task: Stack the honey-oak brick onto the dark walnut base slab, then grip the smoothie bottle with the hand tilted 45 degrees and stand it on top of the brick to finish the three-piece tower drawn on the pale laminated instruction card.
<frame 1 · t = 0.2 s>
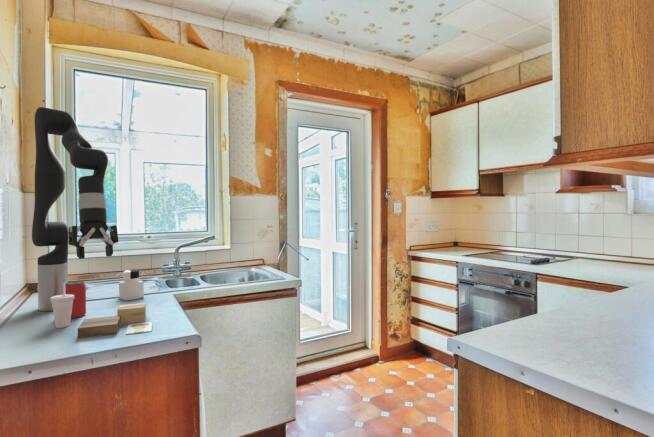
hand: (95, 257, 118), 22 cm above the worktop, tool pointing down, fingers open, 8 cm apart
instruction card: (139, 328, 116), on the worktop
medicine bottle: (131, 298, 157), on the worktop
base slab: (100, 331, 113), on the worktop
oak brick: (132, 320, 125), on the worktop
beer can: (75, 316, 130), on the worktop
smoothie: (62, 326, 118), on the worktop
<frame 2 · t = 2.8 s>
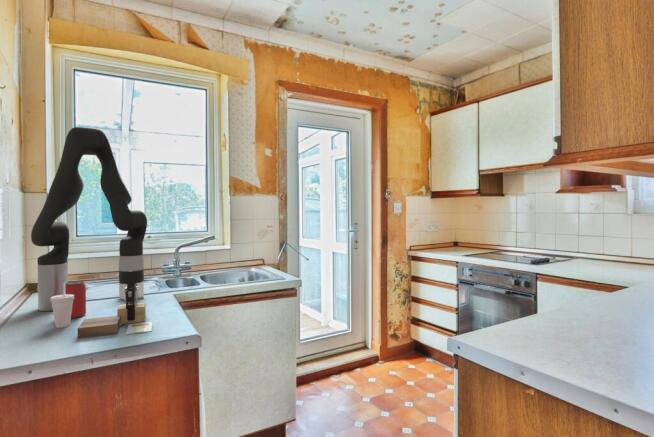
hand: (132, 317, 124), 1 cm above the worktop, tool pointing down, fingers closed on oak brick, 6 cm apart
oak brick: (132, 320, 125), on the worktop, touching gripper
everything else where it was.
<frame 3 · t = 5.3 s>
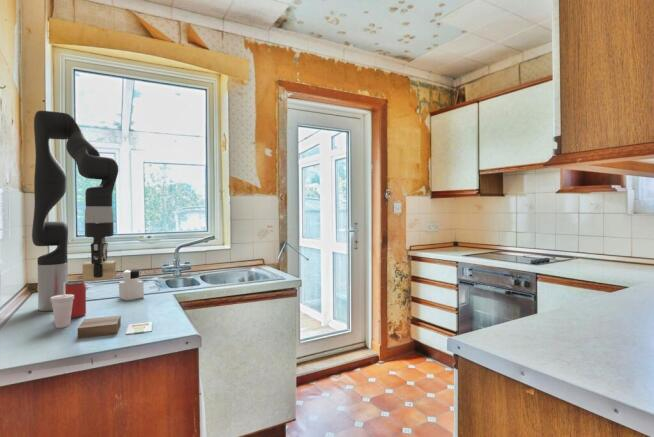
hand: (99, 275, 113), 17 cm above the worktop, tool pointing down, fingers closed on oak brick, 6 cm apart
oak brick: (100, 278, 113), point 16 cm above the worktop, touching gripper
everything else where it was.
when the fingers open (5 cm above the worktop, at t = 8.1 s): oak brick stays where it is, resting on base slab.
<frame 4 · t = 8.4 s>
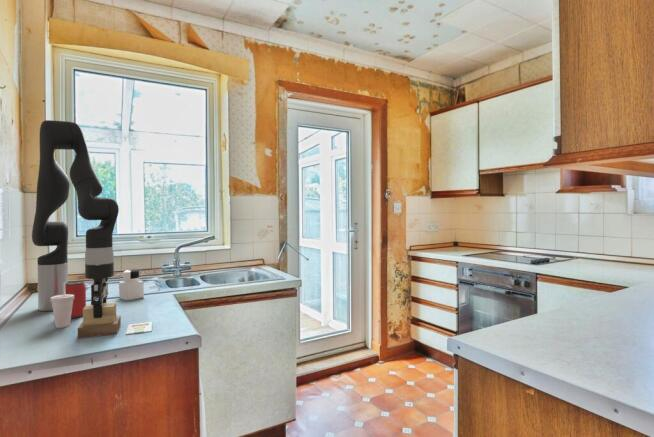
hand: (100, 314, 113), 5 cm above the worktop, tool pointing down, fingers open, 8 cm apart
oak brick: (100, 321, 113), point 3 cm above the worktop, touching base slab
everything else where it was.
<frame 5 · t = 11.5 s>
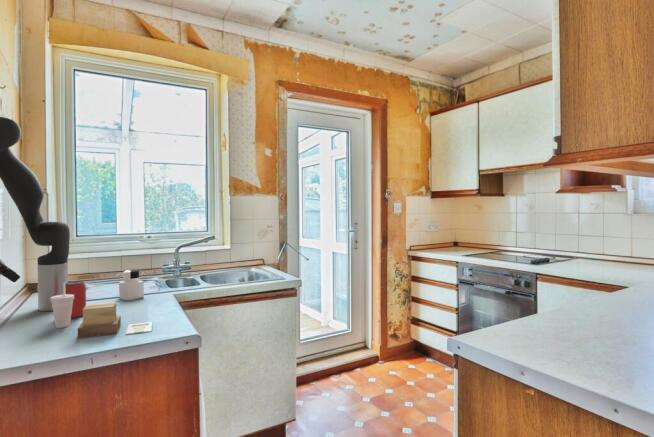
hand: (15, 277, 110), 17 cm above the worktop, tool tilted 45°, fingers open, 8 cm apart
nothing on the worktop moved.
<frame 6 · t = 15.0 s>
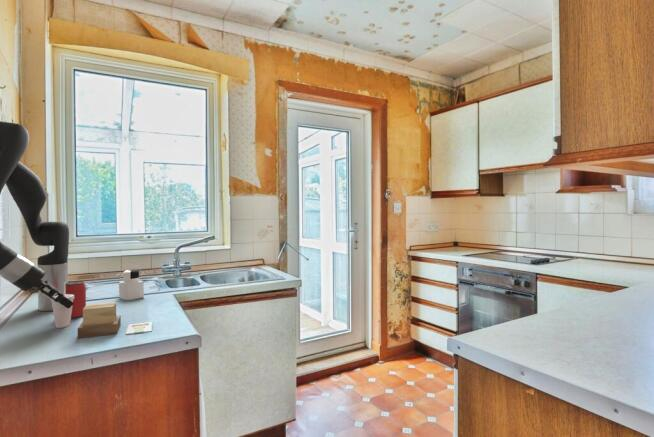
hand: (68, 304, 119), 7 cm above the worktop, tool tilted 45°, fingers closed on smoothie, 6 cm apart
smoothie: (62, 326, 118), on the worktop, touching gripper
everything else where it was.
when the fingers open (16 cm above the worktop, at t = 19.1 s): smoothie stays where it is, resting on oak brick.
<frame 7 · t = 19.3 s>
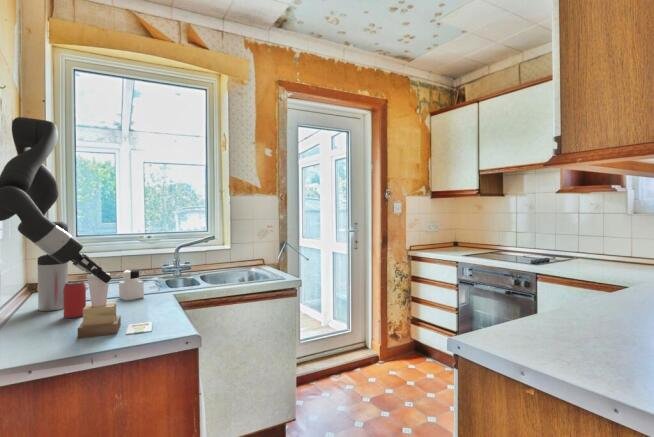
hand: (105, 279, 114), 16 cm above the worktop, tool tilted 45°, fingers open, 7 cm apart
oak brick: (100, 321, 113), point 3 cm above the worktop, touching base slab, smoothie
smoothie: (99, 306, 113), point 8 cm above the worktop, touching oak brick
everything else where it was.
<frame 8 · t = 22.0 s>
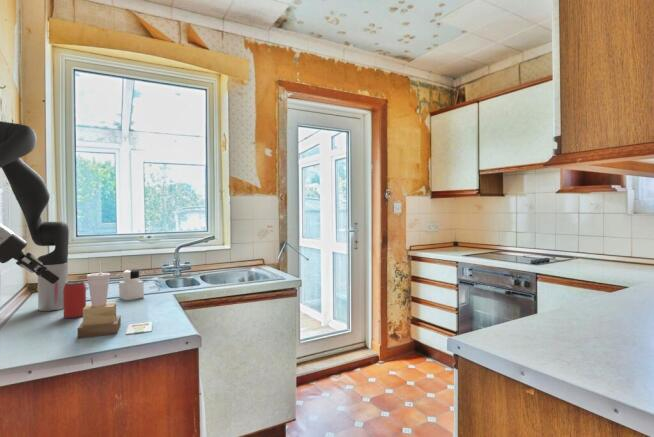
hand: (53, 279, 104), 18 cm above the worktop, tool tilted 45°, fingers open, 8 cm apart
nothing on the worktop moved.
at the end: oak brick inside the target area on the base slab (0.1 cm from its centre), point 3.0 cm above the base slab's base; smoothie inside the target area on the base slab (0.3 cm from its centre), point 7.8 cm above the base slab's base; smoothie tilted 0° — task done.
